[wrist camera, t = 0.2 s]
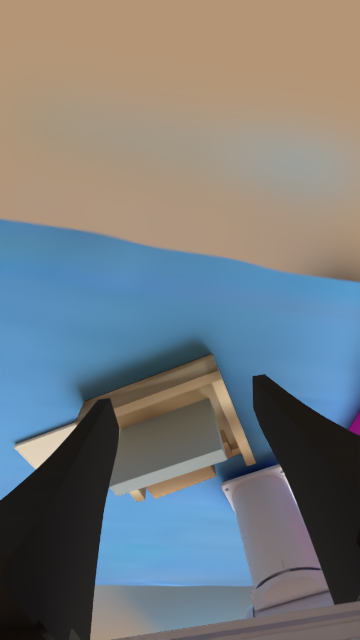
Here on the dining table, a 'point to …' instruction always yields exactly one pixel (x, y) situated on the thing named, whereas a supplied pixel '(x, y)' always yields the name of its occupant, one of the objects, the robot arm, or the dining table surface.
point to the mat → (43, 445)
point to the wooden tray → (177, 402)
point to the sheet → (167, 447)
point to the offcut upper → (181, 481)
